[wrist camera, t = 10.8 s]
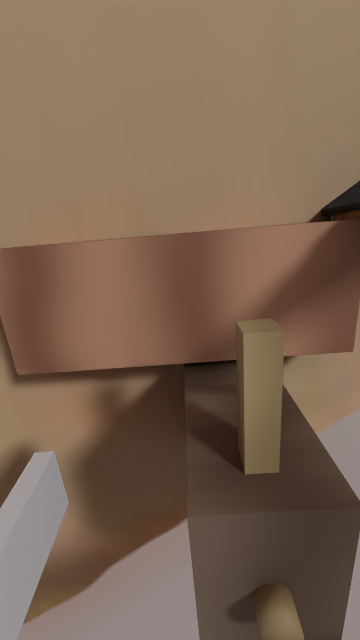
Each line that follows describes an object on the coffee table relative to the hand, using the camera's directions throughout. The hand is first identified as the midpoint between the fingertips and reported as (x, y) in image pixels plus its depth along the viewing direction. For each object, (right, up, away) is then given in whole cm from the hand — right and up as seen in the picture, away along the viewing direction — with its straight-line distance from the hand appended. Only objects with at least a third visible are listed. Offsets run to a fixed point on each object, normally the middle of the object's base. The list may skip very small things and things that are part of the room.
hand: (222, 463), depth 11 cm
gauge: (+1, +3, +4) cm, 5 cm away
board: (-2, +7, +3) cm, 8 cm away
